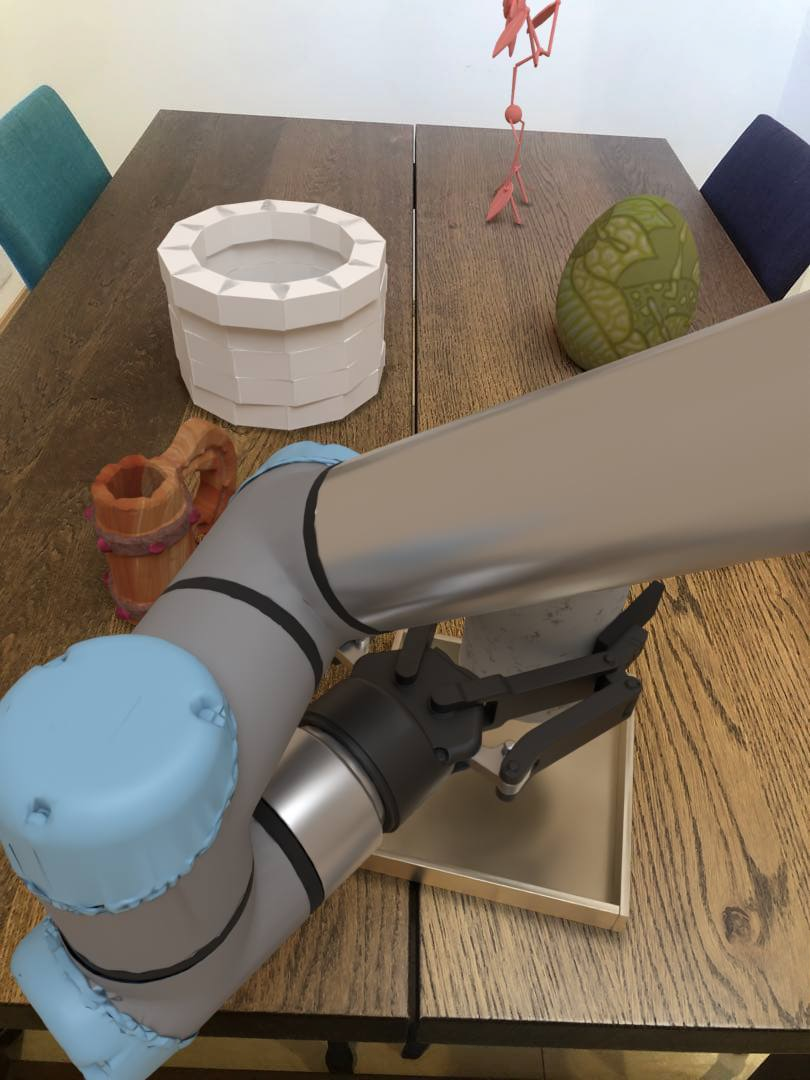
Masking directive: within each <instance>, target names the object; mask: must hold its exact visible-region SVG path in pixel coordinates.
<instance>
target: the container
mask: <svg viewBox="0 0 810 1080" xmlns="http://www.w3.org/2000/svg"><path fill="white" fill-rule="evenodd" d="M156 251H157V258H158V264H159V269H160V275H161V280H162V281H163V283H164V285H165V292H166V296H167V302H168V303H167V307H168V313H169V314H168V315H169V320H170V325H171V331H172V332H171V333H172V339H173V343H174V350H175V351H174V352H175V357H176V358H177V360H178V363H179V370H180V374H181V375H180V376H181V377H182V380H183V382H184V384H185V387H186V389H187V391H188V393H189V396H190V398H191V400H192V403H193V405H195V406H197V407H199V408H201V409H203V410H205V411H207V412H209V413H211V414H212V415H215V416H216V417H218V418H220V419H222V420H224V421H226V422H228V423H229V424H231V425H233V426H243V427H253V428H263V429H273V430H284V431H288V432H289V431H293V430H297V429H302V428H307V427H311V426H317V425H321V424H325V423H330V422H336V421H340V420H343V419H344V418H345V417H346V416H348V415H350V414H351V413H352V412H354V411H355V410H357V409H358V408H359V407H361V405H363V404H365V403H366V402H367V401H369V400H371V399H372V398H373V397H375V396H377V395H378V393H379V389H380V384H381V379H382V376H383V373H384V372H383V371H384V367H385V366H386V345H387V344H386V341H385V340H384V339H385V317H386V297H387V296H386V294H387V292H388V269H389V268H388V267H389V265H388V264H387V262H386V260H387V259H386V258H387V257H386V256H387V255H386V254H387V240H386V239H385V238H383V236H382V235H381V234H379V232H378V231H377V230H376V229H375V228H374V227H373V226H372V225H371V224H370V223H369V222H368V221H367V220H366V219H365V217H361V216H359V215H355V214H353V213H349V212H347V211H343V210H341V209H338V208H335V207H332V206H330V205H327V204H324V203H319V202H318V203H315V202H304V201H295V200H294V201H291V200H282V199H281V200H280V199H268V198H265V199H260V200H253V201H246V202H239V203H238V202H237V203H230V204H222V205H215V206H212V207H210V208H207V209H205V210H203V211H200V212H198V213H195V214H193V215H191V216H189V217H186V218H183V219H181V220H179V221H177V222H175V223H174V225H173V226H172V227H171V229H170V230H169V231H168V233H167V235H166V236H165V237H164V239H163V240H162V241H161V242H160V244H159V246H158V247H157V248H156Z"/></svg>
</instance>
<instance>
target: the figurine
mask: <svg viewBox="0 0 810 1080" xmlns="http://www.w3.org/2000/svg"><path fill="white" fill-rule="evenodd" d="M526 2H527V0H502V7H503V9H502V12H503V18H504V20H505V25H504V30H502V32H501V33H500V35H499V37H498V39H497V41H496V42H495V45H494V48H493V51H492V55H491V58H492V59H495V58H496V57H497V56H498V55H500V54H501V53H502V52H503V51H504V50H505V49H506V48H508V57H509V58H512V57H513V55H514V51H515V47H516V43H517V37H518V34H519V32H520V31H521V29H522V27H524V24H525V22H526V25H527V26H526V27H527V28H526V31H525V33H526V35H528V37H529V43H530V49H531V50H530V51H531V55H529V56H528V57H525V58H524V59H522V60H519V61H518V62H517V63H515V64H514V65H515V66H513V67H512V79H511V82H512V83H511V95H510V105H509V106H508V107H507V108H506V109H505V111H504V118H505V121H506V122H507V123H508V124H509V125H510V126H511V129H512V132H513V135H514V138H515V141H516V144H517V146H516V151H515V154H514V157H513V161H512V165H511V167H510V171H509V172H510V173H509V175H508V176H507V177H506V178H505V179H504V180H503V182H501V184H500V185H499V186H498V187H497V188H496V189H495V190H494V191H493V192H494V193H495V195H494V196H493V199H492V201H491V203H490V206H489V209H488V212H487V216H486V222H490V221H491V220H493V219H494V218H495V217H496V216H498V214H500V213H501V212H502V210H503V209H504V208H505V207H506V205H507V204H508V203H509V202H510V205H511V208H512V211H513V214H514V218H515V221H516V223H517V225H519V224H520V225H521V223H522V222H521V219H520V216H519V213H518V210H517V207H516V204H515V201H514V198H513V195H512V194H513V191H514V183H512V182H511V179H512V177H513V175H514V174H515V176H516V179H517V182H518V185H519V189H520V191H521V195H522V198H523V200H524V204H528V203H529V200H528V197H527V193H526V190H525V187H524V183H523V180H522V178H521V174H520V172H519V169H520V168H521V167H522V164H521V163H520V164H518V160H519V156H520V150H521V145H522V141H523V136H524V135H523V134H524V129H525V125H526V122H525V121H524V120H522V119H523V111H522V108H521V107H520V106H519V105H517V104H515V103H514V100H515V91H516V83H517V72H518V68H519V67H520V66H522V65H524V64H525V63H527V62H529V61H531V60H532V61H533V67H534V69H537V68H538V65H539V59H540V57H542V56H545V57H547V58H550V57H551V53H552V48H553V42H554V36H555V31H556V27H557V20H558V16H559V15H558V14H559V8H560V5H561V3H562V1H561V0H554V1H553V2H551V3H549V4H548V5H546V6H544V8H542V9H541V10H540V11H539V12H537V14H536V15H535V16H534V17H533V18H531V15H530V13H531V8H530V7H529V6H527V3H526ZM552 15H553V18H552V23H551V30H550V35H549V40H548V45H547V51H546V50H545V49H544V48H543V47H542V46H541V45H540V42H539V38H538V36H537V33H536V29H537V28H539V27H540V26H541V25H543V24H544V23H545V22H546V21H548V19H550V18H551V16H552ZM535 46H536V47H535ZM518 123H521V129H520V133H519V137H518V134H517V132H516V129H515V125H516V124H518ZM527 188H528V189H531V190H535V191H536V190H537V191H538V188H534V187H531V186H530V187H529V186H527ZM454 191H455V189H453V190H451V191H448V192H447V193H446V194H445V195H444V196H443V197H441V199H440V202H439V203H441V202H442V200H443V199H444V198H445V197H446V196H447V195H449V194H451V193H453V192H454ZM438 201H439V200H437V202H436V203H438ZM439 210H440V212H438V214H439V215H440V216H442V215H443V216H444V218H445V219H446V220H448V222H450V223H452V224H453V225H455V226H457V227H458V224H457V223H456V222H453V221H452V220H450V219H449V218H448V217H447V216H446V215H445V214H444V213H443V212H442V209H441V208H439Z"/></svg>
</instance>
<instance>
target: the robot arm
mask: <svg viewBox="0 0 810 1080" xmlns="http://www.w3.org/2000/svg"><path fill="white" fill-rule="evenodd" d="M199 543H200V544H199V545H198V547H197V548H196V549H195V551H194V552H193V553H192V555H191V556H190V557H189V559H188V560H187V561H186V563H185V564H184V565H183V567H182V568H181V569H180V571H179V572H178V573H177V575H176V576H175V577H174V579H173V580H172V581H171V583H170V584H169V585H168V587H167V588H166V590H164V592H163V593H162V594H161V596H160V597H159V598H158V599H157V600H156V602H155V603H154V604H153V605H152V607H151V608H150V609H149V611H148V612H147V613H146V614H145V616H144V617H143V618H142V620H141V621H140V622H139V623H138V625H137V626H136V625H135V627H134V628H133V630H132V631H131V632H130V633H119V634H111V635H102V636H97V637H92V638H88V639H85V640H82V641H79V642H76V643H74V644H72V645H70V646H68V647H67V649H66V651H65V653H63V654H61V655H59V656H57V657H56V658H54V659H52V660H50V661H48V662H47V663H45V664H43V665H34V666H33V667H32V668H30V669H28V671H26V672H25V673H24V674H23V675H22V676H20V677H19V678H18V680H16V682H14V683H13V685H12V686H11V687H10V688H9V690H7V691H6V693H5V694H4V695H3V697H2V698H1V699H0V843H1V845H2V847H3V851H4V853H5V857H6V858H7V859H8V861H9V864H10V867H11V868H12V871H13V872H14V873H15V874H16V876H18V877H19V878H20V879H21V881H22V882H23V884H24V885H25V886H26V889H28V891H29V892H30V893H31V894H33V895H34V896H35V899H37V901H38V902H39V903H40V904H41V906H42V908H43V909H44V910H45V911H46V914H45V915H44V917H43V918H42V919H41V920H40V921H39V922H38V923H37V924H36V925H35V926H34V927H33V928H32V929H31V930H30V931H29V932H28V933H27V934H26V935H25V936H24V937H23V938H22V939H21V940H20V941H19V942H18V944H17V946H16V948H15V950H14V951H13V954H12V956H11V959H10V965H9V967H10V968H9V969H10V972H11V975H12V978H13V979H14V980H15V982H16V984H17V986H18V988H19V990H20V991H21V992H22V993H23V995H24V997H25V998H26V1000H27V1001H28V1002H29V1004H30V1005H31V1007H32V1008H33V1009H34V1011H35V1012H36V1014H37V1015H38V1017H39V1018H40V1019H41V1020H42V1023H43V1025H45V1027H46V1028H47V1030H48V1031H49V1033H50V1034H51V1036H52V1037H53V1038H54V1040H55V1041H56V1042H57V1044H58V1045H59V1046H60V1048H61V1049H62V1050H63V1052H64V1053H65V1054H66V1056H67V1057H68V1058H69V1060H70V1061H71V1063H72V1064H73V1065H74V1066H75V1067H76V1068H77V1069H78V1071H79V1072H80V1073H82V1075H83V1078H84V1080H146V1079H148V1078H149V1077H150V1076H151V1075H153V1073H154V1072H156V1071H157V1070H158V1069H159V1068H160V1067H161V1066H162V1065H163V1064H164V1063H166V1062H167V1061H168V1060H169V1059H170V1058H171V1057H173V1056H174V1055H175V1054H176V1053H177V1052H178V1051H179V1050H182V1049H184V1048H187V1047H188V1046H189V1045H191V1044H192V1043H193V1041H195V1040H196V1038H197V1036H198V1034H199V1033H200V1029H201V1028H202V1027H203V1026H204V1025H205V1024H206V1023H207V1022H208V1021H209V1020H210V1019H211V1018H212V1017H213V1016H214V1015H215V1013H217V1011H219V1010H220V1009H221V1007H222V1006H224V1004H225V1003H226V1002H227V1001H229V999H230V998H231V997H232V996H233V995H234V994H235V993H236V992H237V991H238V990H239V989H240V988H241V987H242V986H244V984H245V983H246V982H247V981H248V980H249V979H250V978H251V977H252V976H253V975H254V974H255V973H256V972H257V971H258V970H259V969H260V968H261V967H262V966H263V965H264V964H265V963H266V962H267V960H269V959H270V958H271V957H272V956H273V955H274V954H275V952H276V951H277V950H278V949H280V947H282V945H284V944H285V942H287V940H288V939H289V938H290V937H291V936H292V935H294V933H295V932H297V930H298V929H299V928H300V927H301V926H302V925H303V924H304V923H305V922H306V921H307V920H308V919H309V918H310V916H311V915H313V913H314V912H316V911H317V910H318V909H319V908H320V907H321V906H322V905H323V904H324V903H325V902H326V901H327V900H328V899H329V897H331V895H333V894H334V893H335V892H336V890H338V888H340V886H341V885H343V883H344V882H345V881H347V880H348V879H349V878H350V877H351V875H353V874H354V873H355V872H356V871H357V870H358V869H359V868H358V867H359V866H360V865H361V864H362V863H363V862H364V861H365V860H366V859H367V858H368V857H369V856H370V855H371V854H372V853H373V852H374V851H375V850H376V849H377V848H378V847H379V846H380V845H381V843H382V839H383V835H382V834H384V833H393V832H395V831H396V830H397V829H398V828H399V827H400V826H401V825H402V824H403V823H404V822H405V821H406V820H407V819H408V818H409V817H410V816H411V815H412V814H413V813H414V812H415V811H416V810H417V809H418V808H419V807H420V806H421V805H422V804H423V803H424V802H425V801H426V800H427V799H428V798H429V797H430V796H431V795H432V794H433V793H434V792H435V791H436V790H437V789H438V788H439V787H440V786H441V784H442V783H443V782H444V781H445V780H446V779H447V778H448V777H450V776H452V775H453V774H456V773H458V772H462V771H466V770H468V769H470V768H471V769H473V770H474V771H476V772H477V773H479V774H480V775H482V776H483V777H485V778H486V779H488V780H489V781H491V782H492V783H494V784H495V785H496V787H495V793H496V796H497V797H498V798H499V799H500V800H501V801H504V802H512V801H514V800H515V799H516V798H517V797H518V796H519V794H520V793H521V792H522V790H523V789H524V788H525V786H526V785H527V783H528V782H529V781H530V779H531V778H532V777H533V775H535V774H537V773H538V772H540V771H542V770H543V769H545V768H547V767H548V766H550V765H552V764H553V763H555V762H557V761H558V760H560V759H562V758H563V757H565V756H567V755H568V754H570V753H572V752H573V751H575V750H576V749H578V748H580V747H581V746H583V745H585V744H586V743H588V742H590V741H591V740H593V739H595V738H596V737H598V736H600V735H601V734H603V733H605V732H606V731H608V730H610V729H611V728H613V727H615V726H616V725H618V724H620V723H621V722H623V721H625V720H626V719H628V718H629V717H630V716H631V715H632V712H633V710H634V708H635V709H636V705H637V703H638V700H639V697H640V696H641V693H642V690H643V683H642V682H641V680H640V679H639V678H637V676H636V677H633V676H628V674H627V673H628V672H627V673H626V671H627V670H628V668H629V667H631V665H632V664H633V663H634V662H635V661H636V660H637V659H638V658H639V657H640V655H641V654H642V653H643V651H644V648H645V644H646V642H647V640H648V636H649V631H648V630H647V629H646V628H644V627H645V626H646V625H647V624H648V623H649V621H650V620H651V619H653V617H654V616H655V614H656V612H657V609H658V606H659V604H660V602H661V598H662V596H663V594H664V591H665V589H666V585H665V584H664V583H662V582H660V581H661V580H665V579H670V578H677V577H681V576H687V575H692V574H698V573H703V572H707V571H708V572H709V571H713V570H717V569H722V568H728V567H733V566H739V565H743V564H749V563H754V562H759V561H765V560H770V559H774V558H780V557H785V556H791V555H796V554H800V553H805V552H810V289H807V290H804V291H802V292H799V293H797V294H794V295H792V296H789V297H786V298H783V299H780V300H778V301H775V302H772V303H769V304H767V305H763V306H761V307H759V308H756V309H753V310H750V311H748V312H745V313H742V314H739V315H737V316H734V317H731V318H729V319H725V320H723V321H721V322H718V323H715V324H713V325H710V326H707V327H703V328H701V329H698V330H696V331H693V332H690V333H687V334H686V335H685V336H682V337H679V338H677V339H674V340H671V341H668V342H666V343H663V344H660V345H658V346H655V347H652V348H649V349H647V350H644V351H641V352H639V353H636V354H633V355H630V356H628V357H625V358H622V359H619V360H617V361H614V362H611V363H609V364H606V365H603V366H600V367H598V368H595V369H592V370H590V371H587V370H586V371H584V372H582V373H579V374H576V375H573V376H571V377H568V378H565V379H563V380H560V381H557V382H554V383H551V384H549V385H547V386H546V385H545V386H544V387H540V388H538V389H536V390H532V391H530V392H527V393H524V394H522V395H519V396H516V397H514V398H511V399H508V400H505V401H503V402H499V403H497V404H495V405H492V406H489V407H487V408H484V409H481V410H478V411H475V412H473V413H470V414H467V415H464V416H462V417H458V418H456V419H454V420H450V421H448V422H446V423H442V424H439V425H436V426H434V427H432V428H429V429H427V430H423V431H421V432H418V433H415V434H413V435H410V436H407V437H404V438H402V439H400V440H397V441H394V442H391V443H388V444H385V445H383V446H379V447H377V448H374V449H372V450H369V451H366V452H363V453H359V452H357V451H355V450H353V449H351V448H349V447H347V446H344V445H342V444H338V443H329V444H326V443H320V442H315V441H314V440H301V441H298V442H293V443H290V444H289V445H286V446H284V447H282V448H280V449H278V450H277V451H275V452H274V453H273V454H272V455H271V456H270V457H268V458H267V460H266V461H264V463H262V465H261V466H260V467H259V468H258V469H257V470H256V471H255V472H254V473H253V474H252V475H251V476H249V477H247V478H246V479H245V480H244V481H243V482H242V483H241V484H240V485H239V487H238V488H237V490H236V491H235V493H234V495H233V496H232V497H231V499H230V500H229V503H228V505H227V507H226V509H225V510H224V512H223V513H222V514H221V516H220V517H219V518H218V520H217V521H216V522H215V524H214V525H213V526H212V528H211V529H210V530H209V532H208V533H207V534H205V535H204V537H203V538H202V539H201V541H200V542H199ZM645 583H650V584H648V586H646V588H645V589H644V590H643V591H642V592H641V593H640V594H639V595H638V596H637V597H635V599H633V601H632V602H631V603H630V604H629V605H628V606H627V607H626V608H625V609H623V610H622V613H621V614H620V615H619V616H618V617H617V618H616V619H615V620H614V621H613V622H612V623H611V624H610V625H609V626H608V627H607V628H606V629H605V630H604V631H603V633H602V634H601V635H600V636H599V637H598V638H597V639H596V642H595V645H594V648H593V652H592V655H588V656H584V657H580V658H577V659H573V660H569V661H565V662H561V663H557V664H554V665H550V666H546V667H542V668H538V669H534V670H531V671H527V672H523V673H519V674H515V675H511V676H508V677H503V676H502V675H501V674H495V675H491V676H487V677H483V678H479V677H478V676H477V675H475V674H474V673H473V672H471V671H470V670H468V669H466V668H464V667H462V666H459V665H457V664H455V663H454V662H453V660H452V659H451V658H450V657H449V656H448V654H447V653H445V652H444V651H443V650H441V649H440V648H438V647H437V646H436V647H435V648H434V649H432V648H431V646H432V642H433V639H434V635H435V633H437V632H436V631H437V628H438V625H439V623H443V622H448V621H454V620H459V619H463V618H464V619H465V617H469V616H475V615H480V614H485V613H490V612H495V611H500V610H506V609H511V608H516V607H521V606H526V605H532V604H537V603H542V602H547V601H552V600H557V599H563V598H568V597H573V596H578V595H583V594H589V593H594V592H599V591H604V590H609V589H614V588H620V587H625V586H630V585H631V586H635V585H640V584H645ZM407 628H408V631H407V634H406V637H405V640H404V643H403V646H402V649H398V650H391V649H390V650H384V651H377V652H375V651H374V652H370V648H371V644H372V642H373V641H374V640H375V638H376V637H377V636H382V635H384V634H390V633H393V632H396V631H397V630H402V629H407ZM330 665H335V666H340V665H343V666H344V667H345V668H346V669H347V670H349V672H350V673H349V675H348V676H347V677H345V678H342V679H340V680H338V681H336V682H335V684H333V685H332V686H331V687H329V688H328V689H327V690H326V691H324V693H322V694H320V696H318V697H317V698H316V699H315V700H313V701H312V699H313V698H314V697H315V694H316V692H317V691H318V689H319V687H320V684H321V682H322V680H323V679H324V677H325V676H326V673H327V671H328V669H329V667H330ZM580 700H582V701H581V702H579V703H577V704H575V705H574V706H572V707H570V708H568V709H567V710H565V711H563V712H561V713H559V714H558V715H556V716H554V717H552V718H551V719H549V720H547V721H545V722H544V723H542V724H540V725H538V726H537V727H535V728H533V729H532V730H530V731H529V732H527V733H526V734H525V735H523V736H522V737H521V738H520V739H519V740H518V741H517V743H516V744H515V742H514V741H513V740H506V741H505V742H503V743H501V744H499V745H498V746H497V747H493V748H489V747H485V746H483V745H482V733H483V732H486V731H489V730H493V729H497V728H499V727H501V726H503V725H504V724H505V723H506V722H507V721H509V720H512V719H515V718H519V717H523V716H526V715H530V714H533V713H537V712H541V711H544V710H548V709H551V708H555V707H559V706H562V705H566V704H570V703H573V702H577V701H580ZM485 702H486V703H485ZM309 703H311V704H310V705H309ZM484 703H485V705H484ZM308 705H309V706H308Z"/></svg>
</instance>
